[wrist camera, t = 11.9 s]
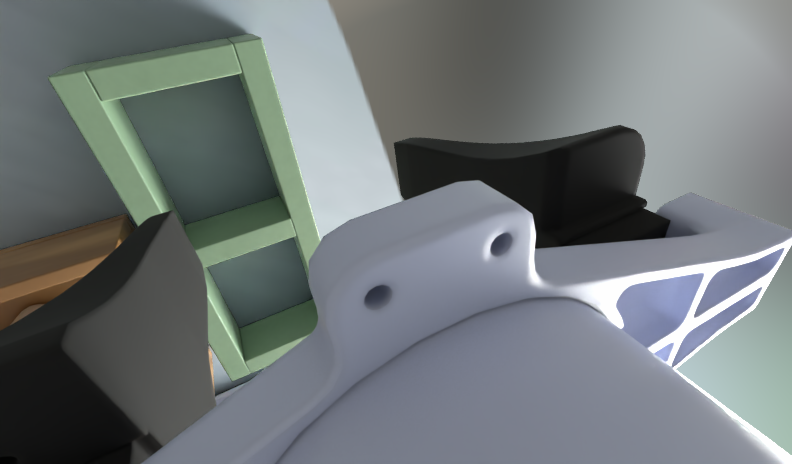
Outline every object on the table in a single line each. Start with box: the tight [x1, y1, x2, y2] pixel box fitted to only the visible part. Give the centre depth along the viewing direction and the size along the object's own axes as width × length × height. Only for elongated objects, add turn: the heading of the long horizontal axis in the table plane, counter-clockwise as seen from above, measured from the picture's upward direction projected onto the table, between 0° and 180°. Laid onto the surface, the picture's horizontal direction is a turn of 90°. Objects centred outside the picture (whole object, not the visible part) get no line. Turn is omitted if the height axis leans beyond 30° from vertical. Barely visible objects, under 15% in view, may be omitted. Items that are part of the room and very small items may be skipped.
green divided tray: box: [48, 34, 321, 381], centre depth 21 cm, size 18×8×3 cm, turn 9°
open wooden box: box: [0, 214, 215, 394], centre depth 20 cm, size 11×10×4 cm
